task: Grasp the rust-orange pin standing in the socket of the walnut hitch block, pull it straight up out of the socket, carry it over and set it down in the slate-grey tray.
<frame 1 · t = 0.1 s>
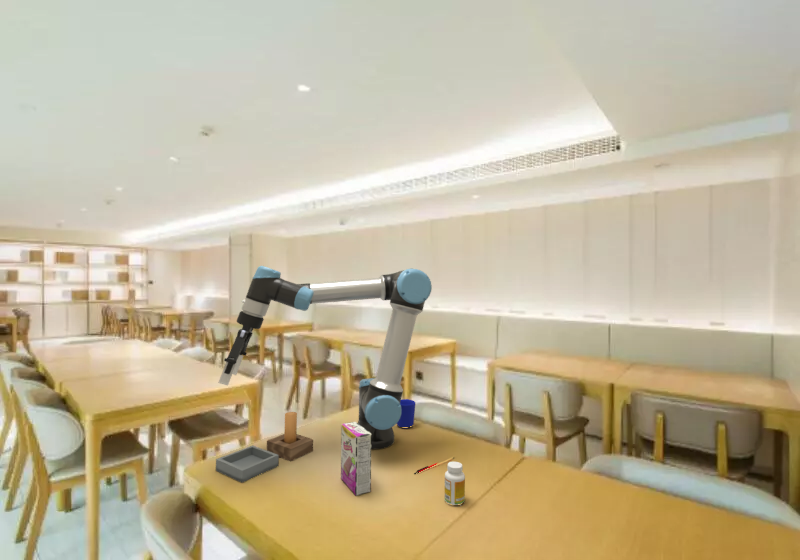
hand: (227, 378, 121), 28 cm above the table, tool tilted 20°, fingers open, 13 cm apart
hitch block: (290, 451, 133), on the table
pen: (435, 467, 125), on the table
pin: (290, 432, 133), in the hitch block
tray: (247, 468, 120), on the table
mug: (405, 425, 162), on the table
candy bar box: (354, 486, 111), on the table
supplement bottle: (454, 501, 104), on the table
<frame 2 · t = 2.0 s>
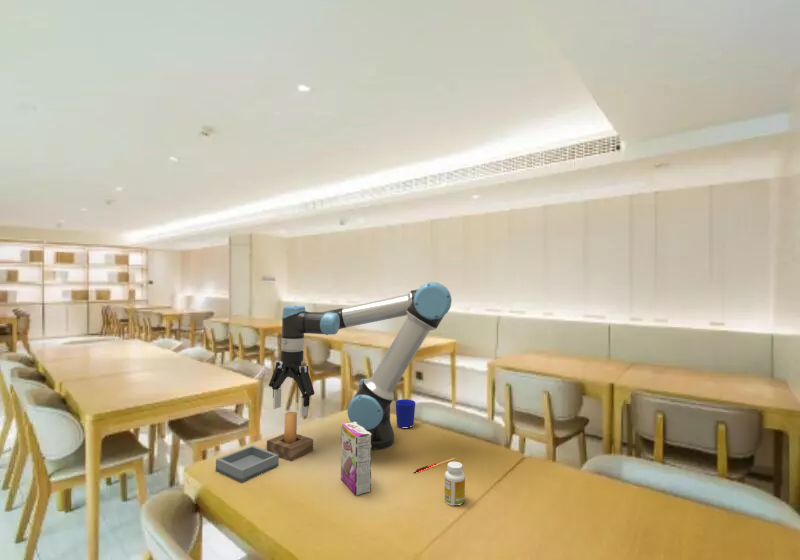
hand: (290, 411, 134), 14 cm above the table, tool pointing down, fingers open, 13 cm apart
nothing on the table moved.
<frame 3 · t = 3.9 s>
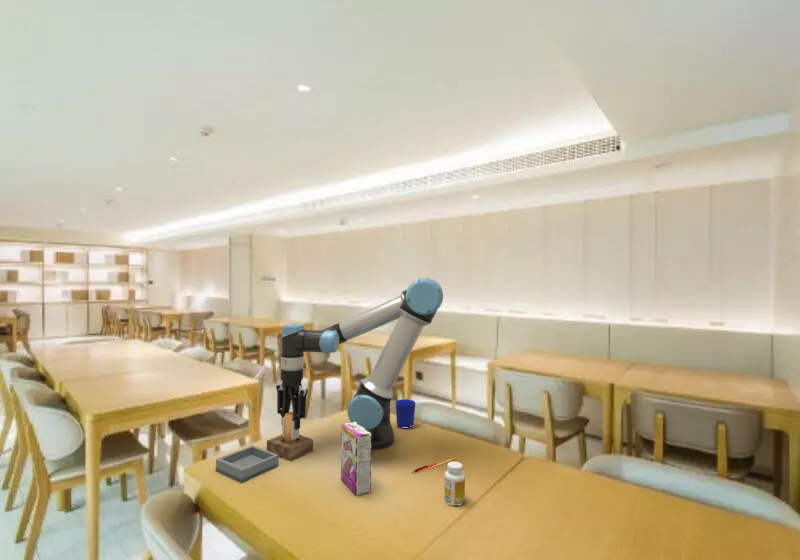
hand: (290, 436, 133), 5 cm above the table, tool pointing down, fingers closed on pin, 4 cm apart
pin: (290, 432, 133), in the hitch block, touching gripper
everything else where it was.
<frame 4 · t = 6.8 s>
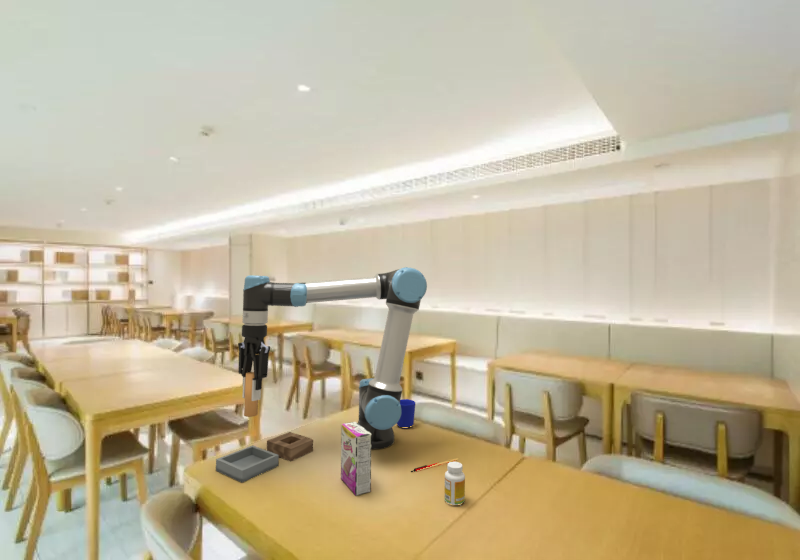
hand: (251, 398, 122), 21 cm above the table, tool pointing down, fingers closed on pin, 4 cm apart
pin: (251, 393, 122), point 23 cm above the table, touching gripper
everything else where it was.
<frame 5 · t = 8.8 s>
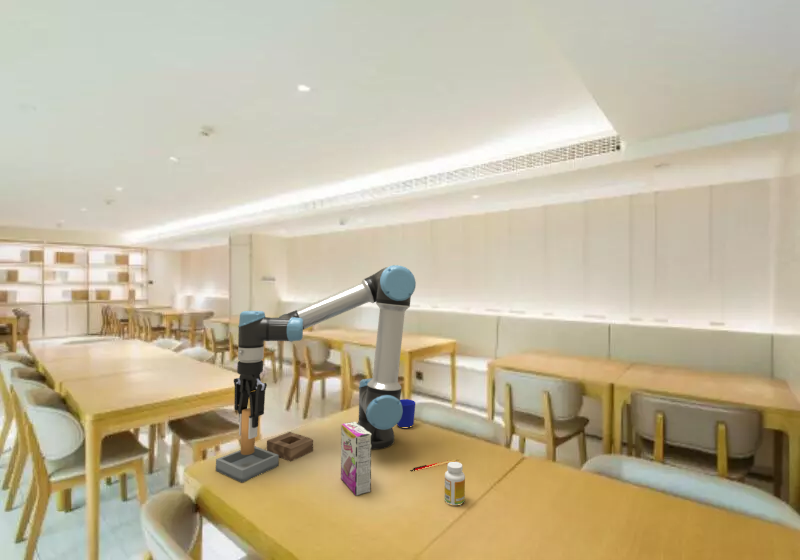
hand: (248, 435, 121), 10 cm above the table, tool pointing down, fingers closed on pin, 4 cm apart
pin: (248, 431, 121), point 12 cm above the table, touching gripper
when the fingers open (8 cm above the table, at t = 10.0 s): pin drops 1 cm, resting on tray.
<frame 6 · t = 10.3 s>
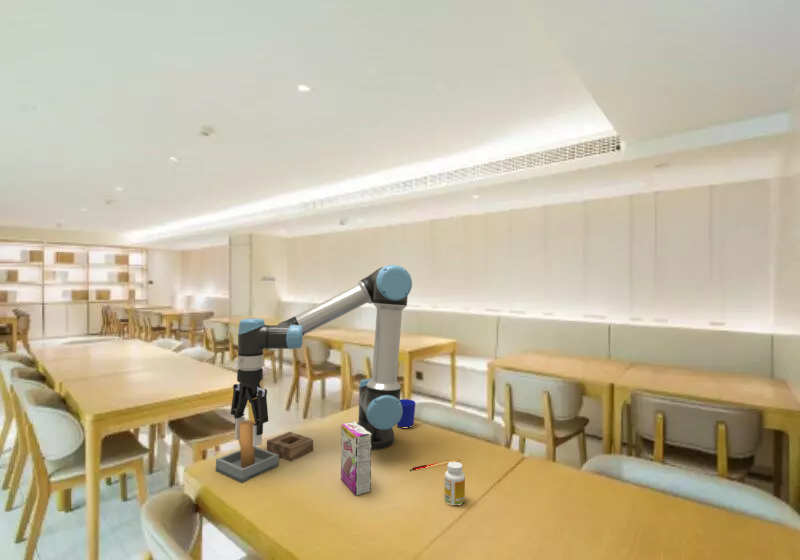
hand: (248, 441, 121), 8 cm above the table, tool pointing down, fingers open, 8 cm apart
pin: (247, 444, 120), in the tray, point 8 cm above the table
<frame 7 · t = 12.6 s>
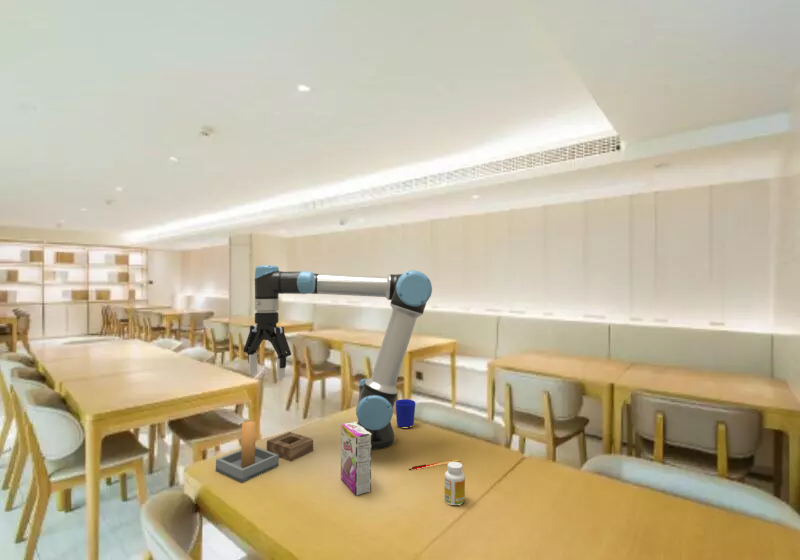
hand: (266, 375, 129), 27 cm above the table, tool pointing down, fingers open, 13 cm apart
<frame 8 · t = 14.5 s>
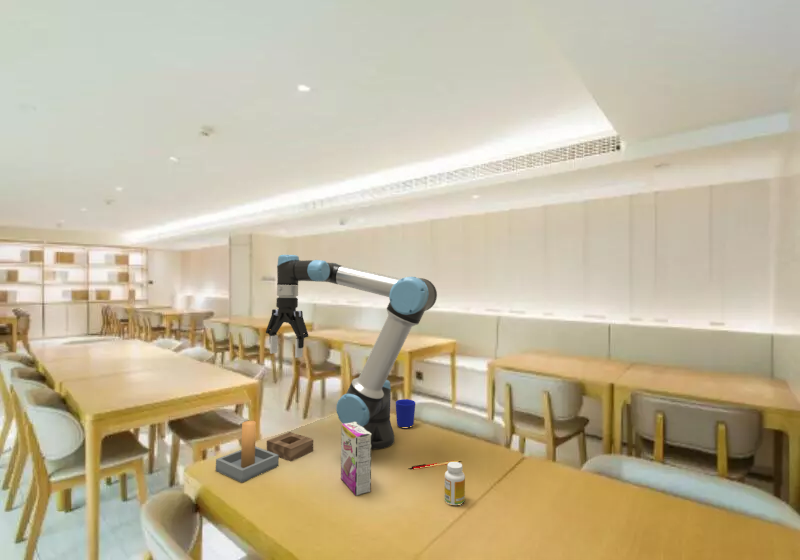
hand: (285, 355, 142), 32 cm above the table, tool pointing down, fingers open, 13 cm apart
at the end: pin inside the target area on the tray (0.1 cm from its centre), point 7.5 cm above the tray's base; pin touching tray; the gripper is holding nothing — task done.
